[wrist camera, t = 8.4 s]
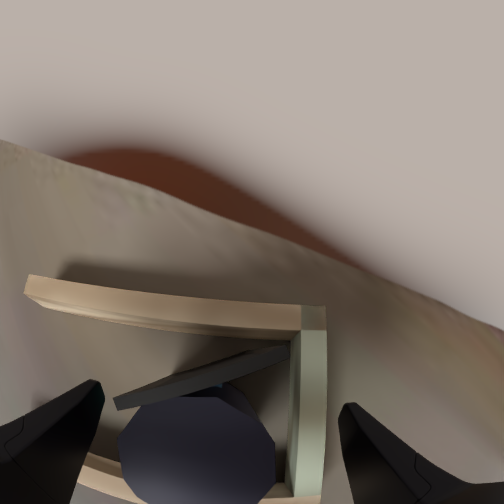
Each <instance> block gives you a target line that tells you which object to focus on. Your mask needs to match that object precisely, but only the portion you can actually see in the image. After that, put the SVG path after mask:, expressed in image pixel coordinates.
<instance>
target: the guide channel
mask: <svg viewBox="0 0 504 504" xmlns="http://www.w3.org/2000/svg"><path fill="white" fill-rule="evenodd" d="M24 294H25V295H27V296H28V297H30V298H31V299H33V300H34V301H36V302H37V303H39V304H40V305H42V306H43V307H45V308H49V309H53V310H57V311H62V312H66V313H70V314H75V315H79V316H84V317H89V318H94V319H99V320H104V321H110V322H115V323H121V324H127V325H133V326H139V327H145V328H152V329H159V330H167V331H175V332H183V333H192V334H201V335H211V336H222V337H235V338H250V339H268V340H291V352H290V357H291V358H290V391H289V417H288V437H287V454H286V469H285V482H284V483H276V484H275V485H274V486H273V487H272V488H271V489H270V491H269V492H268V493H267V494H266V495H265V496H264V497H263V498H262V499H261V501H260V502H259V503H258V504H320V498H321V489H322V478H323V467H324V453H325V436H326V412H327V330H326V306H315V305H292V304H273V303H257V302H242V301H229V300H217V299H205V298H194V297H184V296H175V295H165V294H156V293H148V292H140V291H132V290H124V289H117V288H109V287H102V286H95V285H89V284H82V283H76V282H70V281H64V280H58V279H52V278H47V277H41V276H36V275H30V274H29V277H28V280H27V283H26V286H25V290H24ZM77 482H78V483H80V484H83V485H85V486H88V487H90V488H93V489H95V490H98V491H101V492H103V493H106V494H109V495H112V496H115V497H118V498H121V499H125V500H128V501H132V502H135V503H139V504H147V503H146V502H144V501H143V500H141V499H139V498H138V497H137V496H136V495H135V494H134V493H133V491H132V490H131V489H130V487H129V486H128V485H127V483H126V482H125V481H124V479H123V475H122V469H121V463H119V462H116V461H113V460H110V459H107V458H104V457H101V456H98V455H95V454H92V453H89V452H88V453H87V456H86V458H85V461H84V464H83V466H82V469H81V472H80V474H79V477H78V480H77Z"/></svg>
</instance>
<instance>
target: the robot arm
mask: <svg viewBox="0 0 504 504" xmlns="http://www.w3.org/2000/svg"><path fill="white" fill-rule="evenodd" d="M104 402H105V395H104V392H103V389H102V386H101V383H100V382H99V381H96V380H92V379H89V380H87V381H85V382H84V383H82V384H80V385H78V386H76V387H75V388H73V389H71V390H69V391H68V392H66V393H64V394H62V395H60V396H59V397H57V398H55V399H53V400H51V401H49V402H48V403H46V404H44V405H42V406H40V407H38V408H37V409H35V410H33V411H31V412H29V413H27V414H25V416H21V417H20V418H18V419H16V420H14V421H12V422H10V423H7V424H5V425H3V426H0V504H69V503H70V500H71V497H72V494H73V491H74V488H75V486H76V483H77V480H78V477H79V474H80V472H81V469H82V466H83V464H84V461H85V458H86V456H87V453H88V451H89V448H90V446H91V443H92V441H93V438H94V436H95V433H96V430H97V427H98V423H99V419H100V416H101V412H102V409H103V406H104ZM338 426H339V433H340V441H341V449H342V455H343V460H344V464H345V468H346V472H347V476H348V480H349V484H350V488H351V492H352V496H353V500H354V504H504V482H495V483H482V484H472V483H468V482H465V481H462V480H460V479H459V478H457V477H455V476H453V475H451V474H449V473H448V472H446V471H444V470H442V469H441V468H439V467H437V466H436V465H434V464H433V463H431V462H430V461H428V460H427V459H426V458H424V457H423V456H421V455H420V454H419V453H416V451H415V450H414V449H412V448H411V447H410V446H408V445H407V444H406V443H405V442H403V441H402V440H401V439H400V438H398V437H397V436H396V435H395V434H393V433H392V432H391V431H390V430H388V429H387V428H386V427H385V426H384V425H382V424H381V423H380V422H379V421H377V420H376V419H375V418H374V417H373V416H371V415H370V414H369V413H368V412H367V411H365V410H364V409H363V408H362V407H361V406H359V405H358V404H357V403H355V402H351V403H345V404H344V406H343V408H342V410H341V412H340V415H339V417H338Z"/></svg>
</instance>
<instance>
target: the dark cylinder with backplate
mask: <svg viewBox="0 0 504 504" xmlns="http://www.w3.org/2000/svg"><path fill="white" fill-rule="evenodd" d="M288 358H291V357H290V354H289V352H288V349H287V347H286V345H281V346H274V347H268V348H261V349H254V350H247V351H244V352H242V353H239V354H236V355H233V356H230V357H227V358H224V359H221V360H218V361H215V362H212V363H209V364H206V365H203V366H200V367H197V368H193V369H190V370H187V371H183V372H180V373H176V374H173V375H170V376H167V377H165V378H163V379H160V380H158V381H155V382H153V383H150V384H148V385H145V386H143V387H140V388H138V389H135V390H133V391H130V392H127V393H125V394H122V395H119V396H117V397H114V398H113V400H114V403H115V405H116V408H117V411H119V410H124V409H128V408H133V407H138V406H141V407H140V408H139V410H138V411H137V412H136V414H135V415H134V416H133V418H132V419H131V420H130V422H129V423H128V424H127V426H126V427H125V429H124V430H123V431H122V433H121V434H120V435H119V437H118V438H117V443H118V450H119V457H120V463H121V469H122V475H123V479H124V481H125V482H126V483H127V485H128V486H129V487H130V489H131V490H132V491H133V493H134V494H135V495H136V496H137V497H138V498H139V499H141V500H143V501H144V502H146V503H147V504H258V503H259V502H260V501H261V499H262V498H263V497H264V496H265V495H266V494H267V493H268V492H269V491H270V489H271V488H272V487H273V486H274V485H275V484H276V467H275V443H274V441H273V439H272V438H271V436H270V435H269V433H268V432H267V430H266V429H265V427H264V426H263V424H262V423H261V421H260V419H259V418H258V416H257V415H256V413H255V411H254V410H253V408H252V407H251V405H250V403H249V402H248V400H247V398H246V397H245V395H244V394H243V392H241V391H239V390H238V389H236V388H235V387H233V386H231V385H230V384H228V383H227V381H230V380H233V379H236V378H239V377H241V376H244V375H247V374H250V373H252V372H255V371H258V370H260V369H263V368H266V367H268V366H271V365H273V364H276V363H278V362H281V361H283V360H286V359H288Z"/></svg>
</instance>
